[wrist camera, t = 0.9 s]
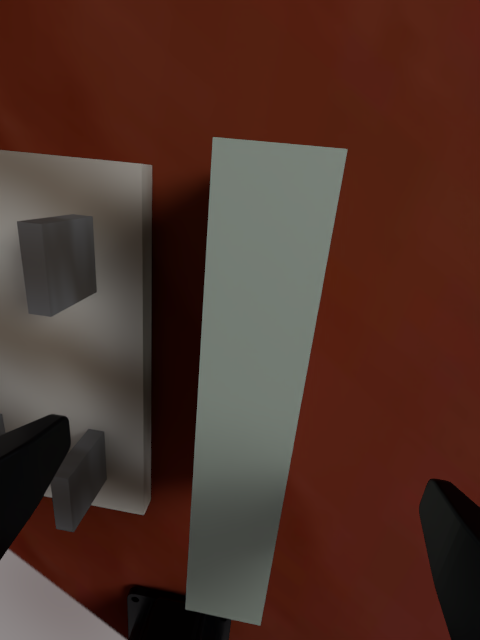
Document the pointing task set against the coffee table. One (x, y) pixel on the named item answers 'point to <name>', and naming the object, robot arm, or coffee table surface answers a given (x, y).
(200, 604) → the cabinet door
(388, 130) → the coffee table surface
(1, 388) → the cabinet panel
